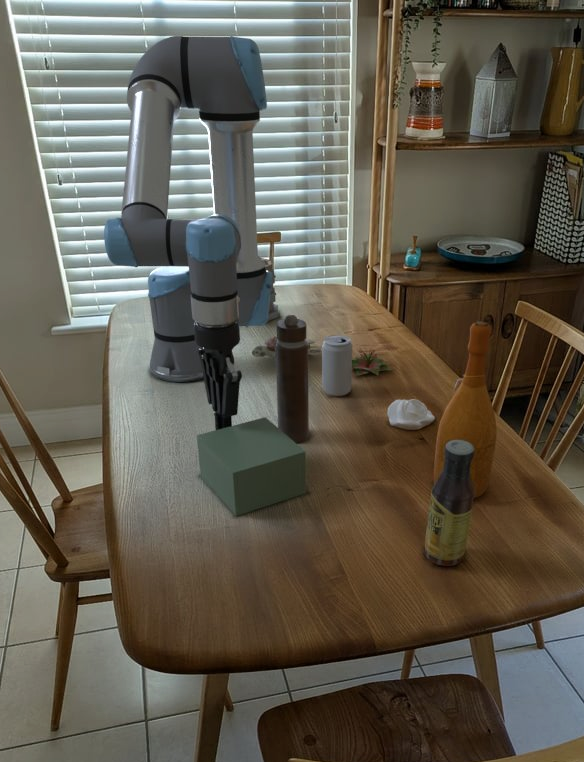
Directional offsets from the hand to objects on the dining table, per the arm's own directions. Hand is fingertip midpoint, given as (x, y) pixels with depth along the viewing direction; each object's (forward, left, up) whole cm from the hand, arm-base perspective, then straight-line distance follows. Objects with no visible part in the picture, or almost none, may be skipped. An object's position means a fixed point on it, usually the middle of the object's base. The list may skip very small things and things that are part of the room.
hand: (224, 444), depth 134 cm
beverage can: (-14, +33, -3) cm, 36 cm away
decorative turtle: (-37, +33, -3) cm, 50 cm away
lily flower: (-21, +46, -3) cm, 51 cm away
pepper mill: (-1, +15, -3) cm, 16 cm away
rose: (+5, +39, -3) cm, 40 cm away
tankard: (-63, +38, -3) cm, 74 cm away
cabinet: (+10, 0, -3) cm, 11 cm away
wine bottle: (+30, +31, -3) cm, 43 cm away
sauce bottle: (+44, +16, -3) cm, 47 cm away
